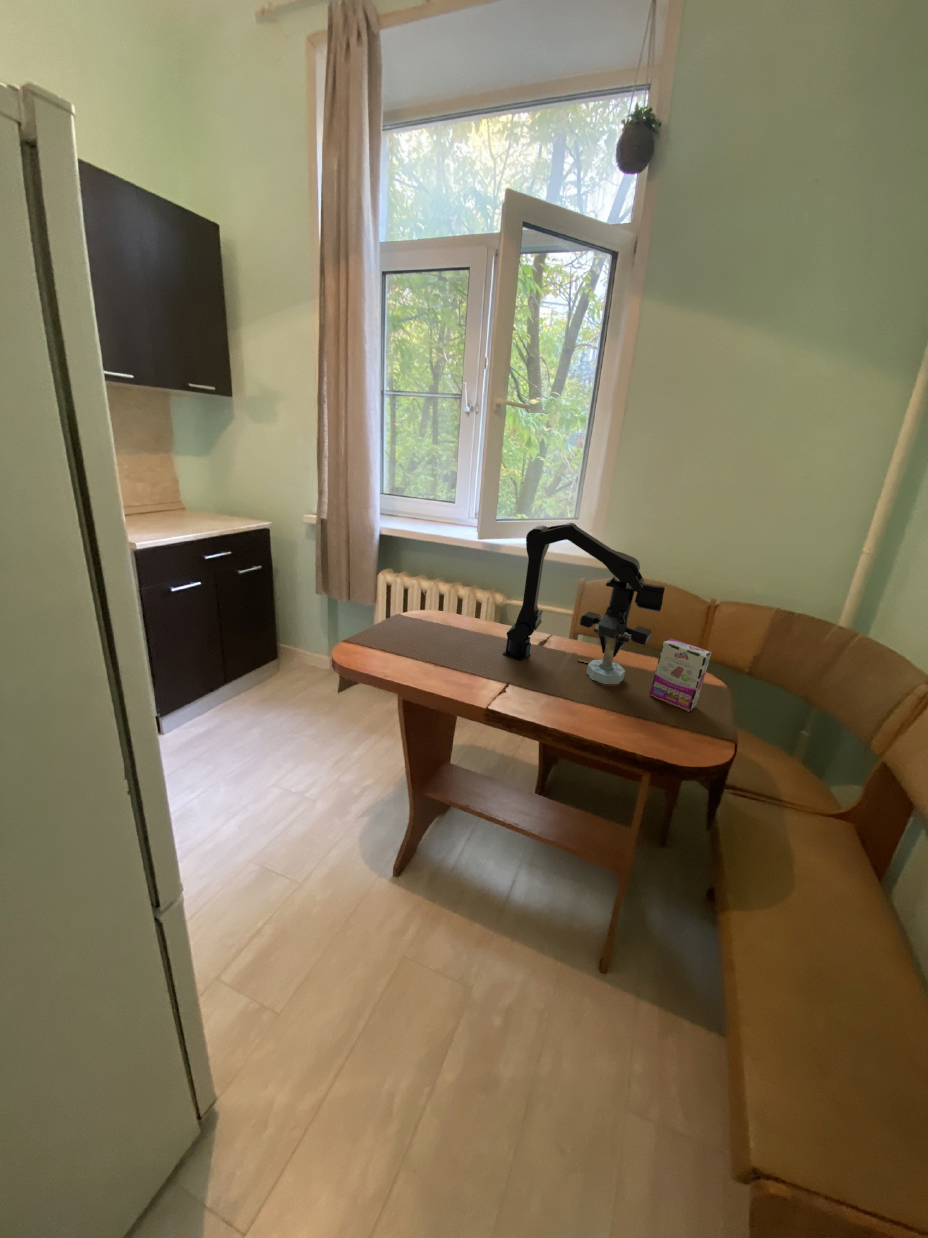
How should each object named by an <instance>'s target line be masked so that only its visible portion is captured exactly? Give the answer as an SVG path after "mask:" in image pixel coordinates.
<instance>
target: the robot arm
mask: <svg viewBox="0 0 928 1238" xmlns="http://www.w3.org/2000/svg"><path fill="white" fill-rule="evenodd" d="M567 540H568V541H569V542H570V543H572V544H573V545H575V546H576V547H578V548H579V549H581V550H583V551H584V552H585V553H587V554H589V555H590V556H592V557H593V558H595V559H596V560H598V562H599V561H600V563H602V564H603V565H604V566H605V567H606V568H607V569H608V571H609V572H610V573H611V574H612V575H613V576H612V578H610V579H608V580H607V581H606V583H605V586H606V587H609V588H612V589H611V594H610V600H609V603H608V606H607V608H606V611H605V613H604V614H603V616H601V614H600V613H596V612H594V611H593V612H592V611H587V612H586V613H584V614H583V615H582V616H581V617H580V619H579V625H580V626H582V627H586V628H588V629H590V628H591V627H593V626H594V625H595V627H594V629H593V632H594V633H595V634H597V635H598V637H599V640H600V641H599V642H600V645H601V646H600V647H601V652H602V654H604V651H605V647H606V642H607V637H610V638H614V637H616V635H619V637H618V641H617V645H616V648H615V651H614V655H613V657H614V658H615V657H616V656H617V655H618V653H619V652H620V651H621V649H622V647H623V646H624V644H625V643H630V641H632V642H633V643H636V644H640V645H644V646H646V644H647V643H648V642H649V641H650V640H651V639H652V634H653V631H652V630H651V629H650V628H647V627H643V626H640V625H638V626H637V627H636V628H633V627H630V626H628V623H629V617H630V613H631V611H632V604H633V599H634V594H635V592H636V596H635V600H634V604H636V605H635V606H637V608H638V609H642V610H643V609H644V610H648V611H654V612H658V613H661V609H662V606H663V601H664V600H663V599H664V593H665V588H666V586H664V585H659V584H658V585H656V584H650V583H645V579H644V577H643V575H642V573H641V570H640V569H641V566H640V561H639V559H637V558H636V557H634V556H631V555H629V554H627V553H625V552H621V551H618V550H615V549H612V548H611V547H609V546H608V545H606V544H605V543H603V542H602V541H600V540H599V539H597V538H596V537H594V536H593V535H591V534H589V533H588V532H586V531H584V530H583V529H582V528H580V527H579V526H577V525H576V523H574V522H568V523H566V524H559V525H557V524H556V525H552V526H547V525H542V524H541V525H540V524H539V525H537V526H536V527H534V528H532V529H531V530H529V531H528V532H527V534H526V536H525V542H526V544H525V546H526V547H525V549H526V553H527V558H528V561H527V570H526V575H525V584H524V591H523V592H524V593H523V598H522V599H523V600H522V605H521V608H520V610H519V613H518V616H517V618H516V621H515V622H514V624H513V625H512V626H511V627H510V628H509V629H508V630H507V632H506V637H507V639H506V645H505V646H506V647H505V650H504V651H503V652H502V655H504V656H507V657H510V658H512V659H515V660H518V661H523V660H524V659H526V658H527V657H528V656H530V655H531V652H530V651H531V647H532V643H531V637H530V636H532V635H533V633H534V632H535V631H536V630H537V629H538V628H539V626H540V625H541V624H542V616H543V611H544V610H539V607H538V601H539V596H540V595H539V594H540V587H541V581H542V575H543V574H542V572H543V567H544V560H545V557H546V556H547V555H546V554H547V553H548V550H549V547H550V544H554V543H558V542H562V541H567Z"/></svg>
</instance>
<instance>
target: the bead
mask: <svg viewBox="0 0 928 1238" xmlns="http://www.w3.org/2000/svg"><path fill="white" fill-rule="evenodd" d="M602 661H603V659H592V660H591V661H589V662H590V663H589V664H587V667H586V672H585V674H586V673H587V674H588V675H589V676H590V677H589V676H588V675H587V674H586V675H587V676H588V677H589V679H590V678H591V679H592V680H596V681H599V682H601V683H604V684H619V683H620V682H621V681H622V682H623V680H624V678H625V672H626V670H625V669H624V668H623V667H622V666H621V665H620V663H617V662H614V661H613V663H612V666H610V667H608V666H604V665H603V664H602ZM591 679H590V680H591ZM592 680H591V681H592ZM620 684H621V683H620ZM620 684H619V685H620Z"/></svg>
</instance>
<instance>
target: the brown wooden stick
mask: <svg viewBox="0 0 928 1238" xmlns="http://www.w3.org/2000/svg"><path fill="white" fill-rule="evenodd" d="M578 661H579V662H578ZM577 662H578V663H581V662H584V663H583V664H585V663H588V664H589V663H590V662H591V661H587V660H584V659H580V658H578V659H577ZM588 664H587V665H588Z"/></svg>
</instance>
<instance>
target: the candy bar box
mask: <svg viewBox="0 0 928 1238" xmlns="http://www.w3.org/2000/svg"><path fill="white" fill-rule="evenodd" d="M711 658H712V651H710V650H707V649H704V648H701V647H698V646H695V645H692V644H689V643H686V642H685V641H684V642H683V641H680V640H677V639H675V638H672V637H669V638H667V639H666V640H664V641H663V642H662V644H661V648H660V652H659V655H658V660H657V664H656V668H655V672H654V675H653V681H652V684H651V688H650V691H649V696H650V695H654V696H656V697H658V698H662V699H664V700H667V701H669V702H672V703H674V704H676V705H680V706H682V707H685V708H688V709H690V710H691V709H692V708H693V707H694V706H695V705H696V706H697V705H698V704H697V703H698V701H699V698H700V693H701V690H702V687H703V684H704V680H705V676H706V674H707V670H708V668H709V667H708V666H709V664H710V660H711ZM691 711H692V710H691Z"/></svg>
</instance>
